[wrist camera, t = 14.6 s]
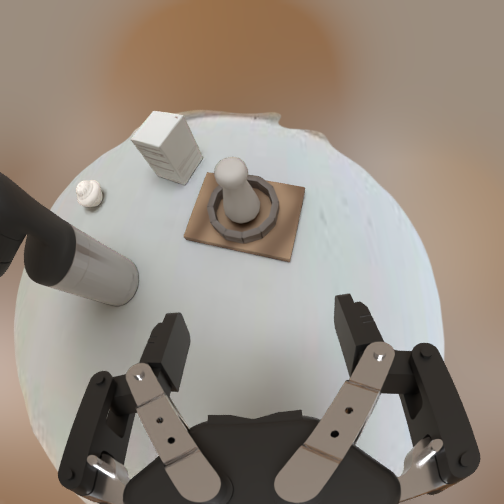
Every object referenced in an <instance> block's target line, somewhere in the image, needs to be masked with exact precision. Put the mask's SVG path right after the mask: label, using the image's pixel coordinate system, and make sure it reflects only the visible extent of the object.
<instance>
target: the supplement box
mask: <svg viewBox="0 0 504 504" xmlns="http://www.w3.org/2000/svg"><path fill="white" fill-rule="evenodd" d="M131 141H132V142H133V143H134V145H135V146H136V147H137V149H138V150H139V151H140V153H141V154H142V155H143V157H144V158H145V159H146V161H147V162H148V163H149V165H150V166H151V167H152V169H153V170H154V172H155V173H156V174H157V175H158V176H160V177H163V178H165V179H168V180H171V181H174V182H177V183H180V184H183V185H186V183H187V181H188V180H189V178H190V177H191V175H192V173H193V172H194V170H195V169H196V167H197V166H198V164H199V163H200V161H201V160H202V158H203V156H202V154H201V152H200V150H199V147H198V145H197V143H196V141H195V139H194V137H193V135H192V132H191V130H190V128H189V126H188V124H187V122H186V119H185V117H184V115H178V114H172V113H166V112H159V111H153V112H152V113H151V114H150V116H149V117H148V118H147V119H146V121H145V122H144V123H143V124H142V125H141V127H140V128H139V129H138V130H137V132H136V133H135V134H134V135H133V137H132V138H131Z"/></svg>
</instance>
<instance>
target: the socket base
mask: <svg viewBox="0 0 504 504" xmlns="http://www.w3.org/2000/svg"><path fill="white" fill-rule="evenodd" d="M247 181H248V183H249V184H250V186H251V187H252V189H253V190H254V192H255V193H256V195H257V196H258V199H259V201H260V209H259V213H258V214H257V216H256V217H255V218H254V219H253V220H251V221H249V222H246V223H243V224H240V223H237V222H233V221H232V220H230V219H229V218H228V217H227V216H226V215H225V211H224V206H223V187H221V186H220V185H219V184H218V183H217V182H216V179H215V176H214V173H208V172H207V174H206V177H205V179H204V182H203V184H202V187H201V190H200V192H199V195H198V198H197V200H196V203H195V206H194V208H193V211H192V214H191V217H190V219H189V222H188V225H187V228H186V231H185V234H184V238H185V239H186V240H190V241H195V242H199V243H204V244H208V245H213V246H218V247H222V248H227V249H232V250H236V251H241V252H245V253H250V254H255V255H259V256H264V257H269V258H273V259H278V260H283V261H287V262H290V259H291V254H292V250H293V245H294V241H295V236H296V231H297V227H298V222H299V217H300V212H301V208H302V203H303V198H304V193H305V187H300V186H294V185H289V184H283V183H277V182H271V181H265V180H264V179H263V178H261V177H259V176H254V175H248V176H247Z"/></svg>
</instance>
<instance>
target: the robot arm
mask: <svg viewBox="0 0 504 504" xmlns="http://www.w3.org/2000/svg"><path fill="white" fill-rule="evenodd" d="M26 234H27V239H26V244H25V250H24V265H25V269H26V272H27V274H28V276H29V277H30V278H31V279H32V280H33V281H34V282H36V283H38V284H41V285H44V286H48V287H51V288H54V289H57V290H60V291H64V292H67V293H71V294H74V295H77V296H81V297H84V298H88V299H91V300H95V301H99V302H102V303H106V304H110V305H114V306H120V305H123V304H125V303H127V302H128V301H129V300H130V299H131V298H132V297H133V296H134V294H135V292H136V290H137V286H138V278H139V277H138V271H137V268H136V266H135V264H134V263H133V262H132V261H131V260H129V259H128V258H126V257H124V256H123V255H121V254H119V253H118V252H116V251H114V250H112V249H111V248H109V247H107V246H106V245H104V244H102V243H100V242H99V241H97V240H95V239H94V238H92V237H91V236H89V235H87V234H86V233H84V232H82V231H81V230H79V229H77V228H76V227H74V226H72V225H71V224H69V223H68V222H66V221H65V220H63V219H61V218H60V217H59V216H57V215H56V214H54V213H53V212H52V211H50V210H49V209H47V208H46V207H44V206H43V205H41V204H40V203H39V202H37V201H36V200H35V199H33V198H32V197H31V196H30V195H28V194H27V193H26V192H25V191H24V190H22V189H21V188H20V187H19V186H18V185H16V184H15V183H14V182H13V181H12V180H10V179H9V178H8V177H7V176H5V175H4V174H2V173H1V172H0V277H1V276H2V275H3V274H4V273H5V272H6V270H7V269H8V267H9V266H10V264H11V262H12V260H13V258H14V256H15V254H16V252H17V250H18V248H19V246H20V245H21V243H22V241H23V239H24V238H25V236H26ZM334 324H335V329H336V333H337V336H338V339H339V342H340V346H341V349H342V352H343V355H344V359H345V362H346V366H347V369H348V372H349V376H350V379H349V380H346V381H345V383H344V384H343V386H342V387H341V389H340V391H339V392H338V394H337V396H336V397H335V399H334V401H333V402H332V404H331V405H330V407H329V408H328V410H327V411H326V413H325V415H324V416H323V418H322V419H321V420H319V419H317V418H314V417H309V416H302V410H295V411H287V412H278V413H274V414H271V415H268V416H264V417H261V418H257V419H249V418H243V417H238V416H233V415H208V421H206V422H203V423H200V424H198V425H195V426H193V427H192V428H189V426H188V425H187V423H186V422H185V420H184V419H183V417H182V416H181V414H180V413H179V411H178V410H177V408H176V406H175V405H174V403H173V401H172V400H171V398H170V397H169V396H170V392H171V391H172V392H178V391H179V387H180V383H181V379H182V374H183V370H184V366H185V362H186V358H187V354H188V350H189V346H190V334H189V331H188V329H187V326H186V324H185V321H184V319H183V316H182V314H181V313H167V314H166V315H165V318H164V320H163V322H162V323H158V324H157V325H156V327H155V328H154V329H153V330H152V332H151V335H150V338H149V340H148V344H147V345H146V347H145V349H144V352H143V354H142V357H141V359H140V362H139V363H138V364H135V365H133V366H132V367H130V368H129V370H128V371H127V373H126V374H125V375H121V376H116V377H112V375H111V374H110V373H109V372H107V371H100V372H98V373H96V374H95V375H93V377H92V378H91V380H90V382H89V384H88V387H87V389H86V392H85V394H84V397H83V399H82V402H81V404H80V407H79V410H78V412H77V415H76V418H75V420H74V423H73V426H72V429H71V432H70V435H69V438H68V441H67V444H66V447H65V450H64V454H63V457H62V460H61V464H60V467H59V471H58V478H59V481H60V483H61V484H62V485H63V486H64V487H66V488H67V489H69V490H71V491H73V492H75V493H76V494H78V495H80V496H82V497H84V498H86V499H88V500H90V501H93V502H97V503H99V504H399V503H400V502H404V501H407V500H410V499H413V498H416V497H418V496H421V495H424V494H429V495H434V494H437V493H440V492H442V491H443V490H445V489H447V488H449V487H451V486H453V485H455V484H456V483H458V482H460V481H461V480H463V479H465V478H466V477H468V476H470V475H471V474H472V473H474V472H475V470H476V469H477V467H478V466H479V462H480V453H479V449H478V446H477V443H476V440H475V437H474V434H473V431H472V428H471V425H470V422H469V420H468V417H467V414H466V412H465V409H464V407H463V404H462V402H461V399H460V397H459V394H458V392H457V390H456V387H455V385H454V383H453V380H452V378H451V376H450V374H449V372H448V370H447V367H446V365H445V363H444V361H443V359H442V357H441V355H440V353H439V351H438V349H437V348H436V347H435V346H433V345H432V344H429V343H420V344H418V345H416V346H415V347H414V348H413V350H412V351H397V350H394V349H393V347H392V346H391V345H389V344H387V343H385V342H384V341H383V338H382V336H381V334H380V332H379V330H378V328H377V326H376V324H375V322H374V320H373V317H372V316H371V313H370V311H369V309H368V307H367V306H365V305H364V304H363V303H362V302H355V303H354V301H353V299H352V297H351V295H350V294H343V295H337V296H335V309H334ZM381 393H387V394H399V396H400V399H401V403H402V406H403V410H404V413H405V417H406V420H407V424H408V428H409V432H410V436H411V440H412V444H413V448H412V450H411V451H410V452H409V453H408V454H407V455H406V457H405V460H404V470H403V473H402V475H401V476H400V477H397V476H396V475H395V474H394V473H393V472H392V471H391V470H389V469H388V468H386V467H385V466H383V465H382V464H380V463H379V462H378V461H376V460H375V459H373V458H372V457H371V456H369V455H368V454H366V453H365V452H364V451H362V450H361V449H360V448H358V447H357V446H355V444H356V443H357V441H358V439H359V437H360V436H361V434H362V432H363V430H364V428H365V426H366V424H367V422H368V420H369V418H370V416H371V414H372V412H373V410H374V408H375V406H376V404H377V402H378V399H379V397H380V395H381ZM109 409H110V410H109ZM108 412H109V413H108ZM135 413H138V415H139V417H140V419H141V421H142V423H143V425H144V427H145V430H146V432H147V434H148V436H149V438H150V439H151V441H152V443H153V445H154V447H155V449H156V451H157V453H158V454H159V456H158V457H157V458H156V459H155V460H154V461H152V462H151V463H150V464H149V465H148V466H146V467H145V468H144V469H143V470H142V471H140V472H139V473H138V474H137V475H135V476H134V477H133V478H132V479H131V480H130V479H129V477H128V471H127V469H126V467H125V466H124V461H125V456H126V452H127V447H128V442H129V438H130V433H131V429H132V425H133V421H134V417H135ZM107 415H108V416H107ZM106 418H107V419H106Z"/></svg>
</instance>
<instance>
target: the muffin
mask: <svg viewBox="0 0 504 504" xmlns="http://www.w3.org/2000/svg"><path fill="white" fill-rule="evenodd" d="M76 188H77V189H76V194H77V200H78V203H79V204H80V205H82V206H85V207H96V206H98V205H99V204H100V203H101V201H102V198H103V196H102V191H101V187H100V185H99V183H98V182H97V181H95V180H91V181H85V180H84V181H81V182H80V183H79V184H78V185H77V187H76Z"/></svg>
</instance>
